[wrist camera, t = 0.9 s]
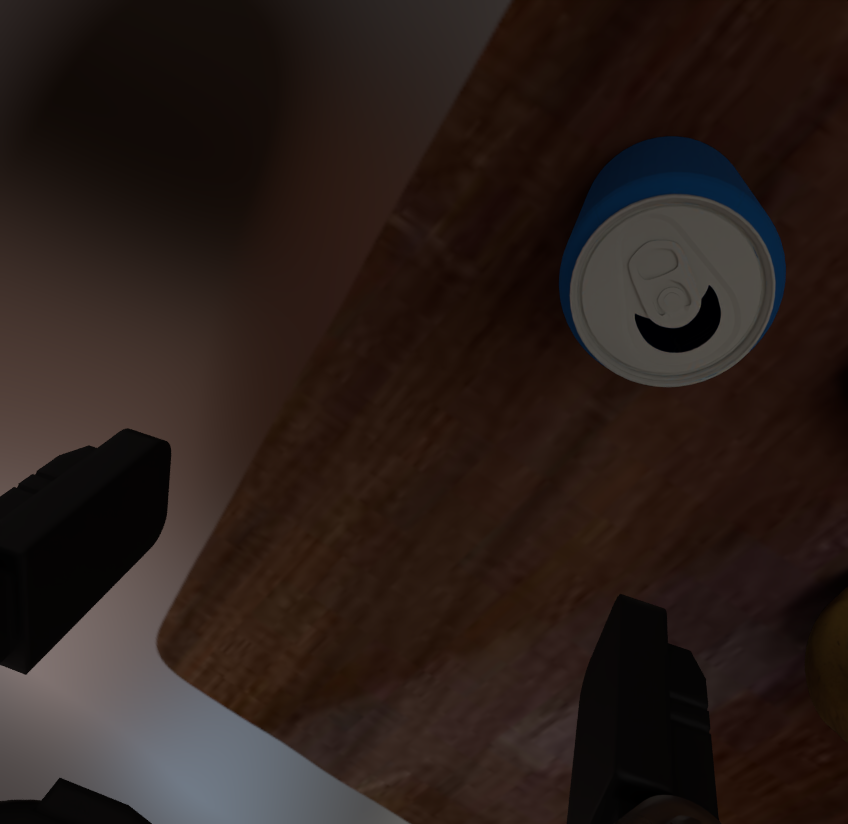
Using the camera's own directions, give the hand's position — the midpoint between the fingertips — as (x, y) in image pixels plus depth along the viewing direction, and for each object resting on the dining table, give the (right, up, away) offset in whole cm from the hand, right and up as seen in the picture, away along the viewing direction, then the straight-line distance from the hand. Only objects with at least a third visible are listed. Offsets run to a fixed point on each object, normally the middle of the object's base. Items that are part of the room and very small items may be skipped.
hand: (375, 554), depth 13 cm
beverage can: (+11, +11, +20) cm, 25 cm away
